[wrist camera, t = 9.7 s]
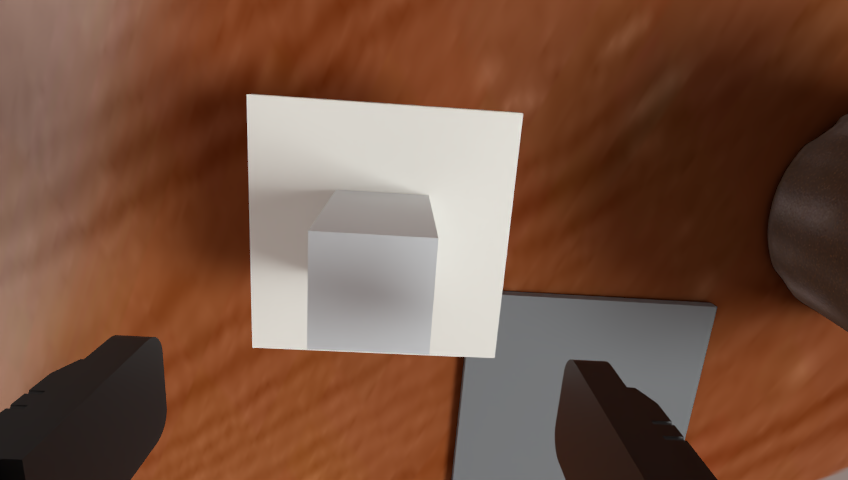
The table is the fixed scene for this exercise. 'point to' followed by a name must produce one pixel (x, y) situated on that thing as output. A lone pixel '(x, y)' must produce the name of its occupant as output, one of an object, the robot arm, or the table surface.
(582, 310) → the mat
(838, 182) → the plant pot
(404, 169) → the lid
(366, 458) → the table surface
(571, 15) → the table surface
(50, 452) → the robot arm
